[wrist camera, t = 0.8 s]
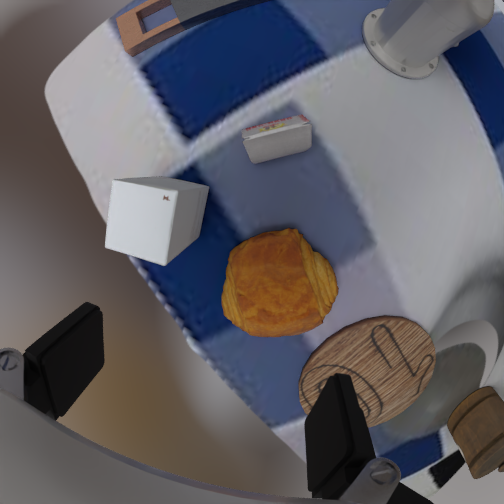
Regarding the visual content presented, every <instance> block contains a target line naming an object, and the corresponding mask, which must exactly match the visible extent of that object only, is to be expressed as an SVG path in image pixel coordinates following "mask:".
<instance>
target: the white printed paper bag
mask: <svg viewBox="0 0 504 504" xmlns="http://www.w3.org/2000/svg"><path fill="white" fill-rule="evenodd" d="M308 122H310V121H309V120H307V119H306V118H305V117H304V116H303V115H298V116H293V117H289V118H285V119H280V120H276V121H272V122H268V123H264V124H261V125H257V126H253V127H250V128H246V129H242V138H244V139H245V141H243V144H244V146H245V148H246V151H247V153H248V156H249V158H250V160H251V162H252V163H254V164H257V163H260V162H264V161H268V160H272V159H276V158H279V157H283V156H288V155H292V154H296V153H300V152H304V151H306V150H308V149H309V148H310V147H311V146H312V144H311V127H312V124H306V123H308Z"/></svg>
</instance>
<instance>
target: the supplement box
mask: <svg viewBox="0 0 504 504" xmlns="http://www.w3.org/2000/svg"><path fill="white" fill-rule="evenodd" d="M208 191H209V186H205V185H201V184H196V183H192V182H188V181H183V180H178V179H173V178H168V177H162V176H159V177H142V178H126V179H115V180H113V182H112V189H111V196H110V203H109V212H108V220H107V230H106V242H105V248H109V249H112V250H115V251H118V252H122V253H125V254H129V255H132V256H135V257H138V258H141V259H144V260H147V261H150V262H154V263H157V264H160V265H163V266H165V265H167V264H168V263H169V262H170V261H171V260H172V259H173V258H175V257H176V256H177V255H178V254H179V253H180V252H182V251H183V250H184V249H185V248H186V247H188V246H189V245H190V244H191V243H192V242H194V241H195V240H196V239H197V238H198V237H199V235H200V230H201V225H202V220H203V215H204V210H205V205H206V201H207V196H208Z"/></svg>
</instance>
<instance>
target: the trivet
mask: <svg viewBox="0 0 504 504" xmlns="http://www.w3.org/2000/svg"><path fill="white" fill-rule="evenodd" d="M435 362H436V360H435V347H434V345H433V342H432V340H431V338H430V336H429V335H428V334H427V332H426V331H425V330H424V329H422V328H421V327H420V326H419V325H418V324H417V323H416V322H414V321H411V320H409V319H406V318H404V317H399V316H386V315H384V316H378V317H372V318H366V319H363V320H360V321H358V322H355V323H353V324H350V325H348V326H345V327H344V328H342V329H341V330H339V331H337V332H336V333H334V334H333V335H331V336H330V337H328V338H327V339H326V340H325V341H324V342H323V343H322V344H321V345H319V346H318V347H317V348H316V349H315V350H314V351H313V352H312V354H311V355H310V357H309V359H308V360H307V362H306V363H305V365H304V366H303V369H302V372H301V375H300V379H299V397H300V403H301V405H302V407H303V409H304V411H305V413H306V414H307V415H308V414H309V413H310V411H311V409H312V407H313V406H314V404H315V402H316V400H317V398H318V397H319V395H320V393H321V391H322V389H323V387H324V386H325V384H326V382H327V380H328V378H329V376H334V374H335V373H342V374H348V375H350V376H351V379H352V382H353V385H354V389H355V392H356V395H357V399H358V402H359V406H360V408H362V410H363V412H364V416H365V419H366V423H367V426H368V427H372V426H375V425H378V424H380V423H383V422H385V421H388V420H389V419H391V418H393V417H395V416H396V415H398V414H400V413H401V412H403V411H404V410H405V409H406V408H407V407H409V406H410V405H411V404H412V403H413V402H414V401H415V400H416V399H417V398H418V397H419V396H420V394H421V393H422V392H423V391H424V389H425V388H426V386H427V384H428V382H429V380H430V378H431V376H432V374H433V370H434V366H435Z"/></svg>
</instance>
